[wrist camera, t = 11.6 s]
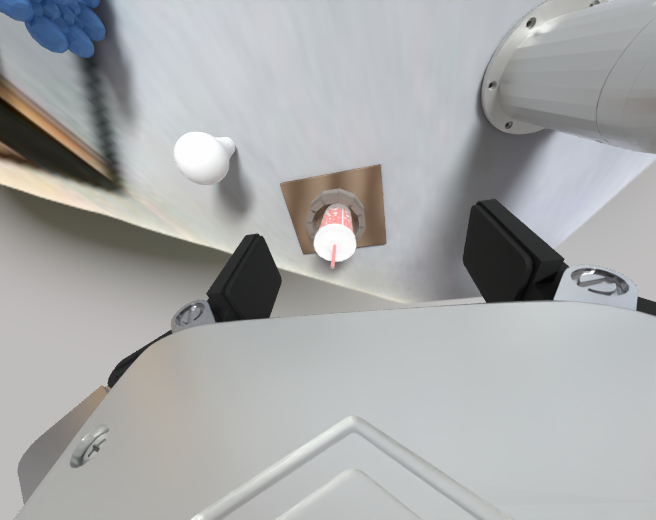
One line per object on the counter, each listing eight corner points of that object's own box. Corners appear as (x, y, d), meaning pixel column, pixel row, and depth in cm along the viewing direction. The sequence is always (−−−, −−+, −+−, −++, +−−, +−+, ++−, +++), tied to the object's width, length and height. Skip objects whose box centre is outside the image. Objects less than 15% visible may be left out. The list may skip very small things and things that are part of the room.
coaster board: (380, 164, 36) (382, 172, 32) (385, 241, 44) (388, 253, 41) (281, 182, 39) (274, 192, 35) (303, 251, 47) (300, 263, 44)
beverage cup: (314, 223, 42) (301, 275, 31) (328, 192, 38) (318, 240, 27) (346, 235, 43) (344, 290, 32) (362, 207, 39) (365, 258, 28)
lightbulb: (253, 165, 37) (222, 193, 29) (215, 165, 38) (175, 192, 29) (244, 121, 34) (206, 137, 25) (203, 121, 34) (151, 137, 25)
